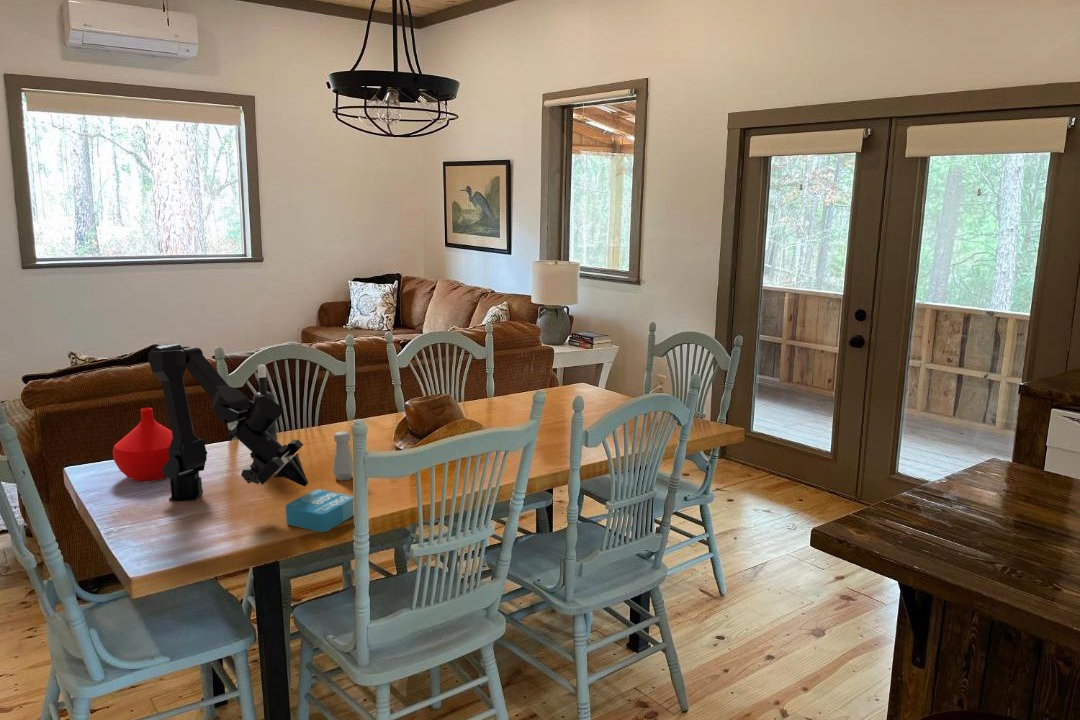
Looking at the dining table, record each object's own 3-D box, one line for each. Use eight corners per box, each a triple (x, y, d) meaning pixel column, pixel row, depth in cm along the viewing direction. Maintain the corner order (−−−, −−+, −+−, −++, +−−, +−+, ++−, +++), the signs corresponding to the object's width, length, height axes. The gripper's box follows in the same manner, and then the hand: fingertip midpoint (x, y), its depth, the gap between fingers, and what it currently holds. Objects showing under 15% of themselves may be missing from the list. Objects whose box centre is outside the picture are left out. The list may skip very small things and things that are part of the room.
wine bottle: (254, 467, 231) (247, 364, 225) (274, 463, 235) (268, 362, 229) (261, 472, 227) (254, 367, 221) (281, 468, 230) (275, 365, 224)
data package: (316, 488, 200) (356, 496, 195) (317, 505, 201) (357, 513, 196) (282, 505, 189) (323, 515, 184) (283, 523, 190) (324, 533, 185)
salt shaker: (349, 482, 219) (347, 436, 216) (329, 480, 220) (327, 434, 218) (358, 475, 225) (356, 430, 222) (338, 474, 226) (336, 429, 223)
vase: (119, 492, 211) (112, 421, 208) (112, 472, 226) (105, 406, 223) (194, 479, 221) (188, 411, 217) (182, 461, 236) (177, 398, 233)
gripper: (250, 451, 203) (296, 493, 205) (220, 476, 185) (271, 522, 187) (279, 421, 202) (326, 464, 204) (252, 443, 183) (303, 489, 185)
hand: (306, 484), depth 195 cm, fingers closed
